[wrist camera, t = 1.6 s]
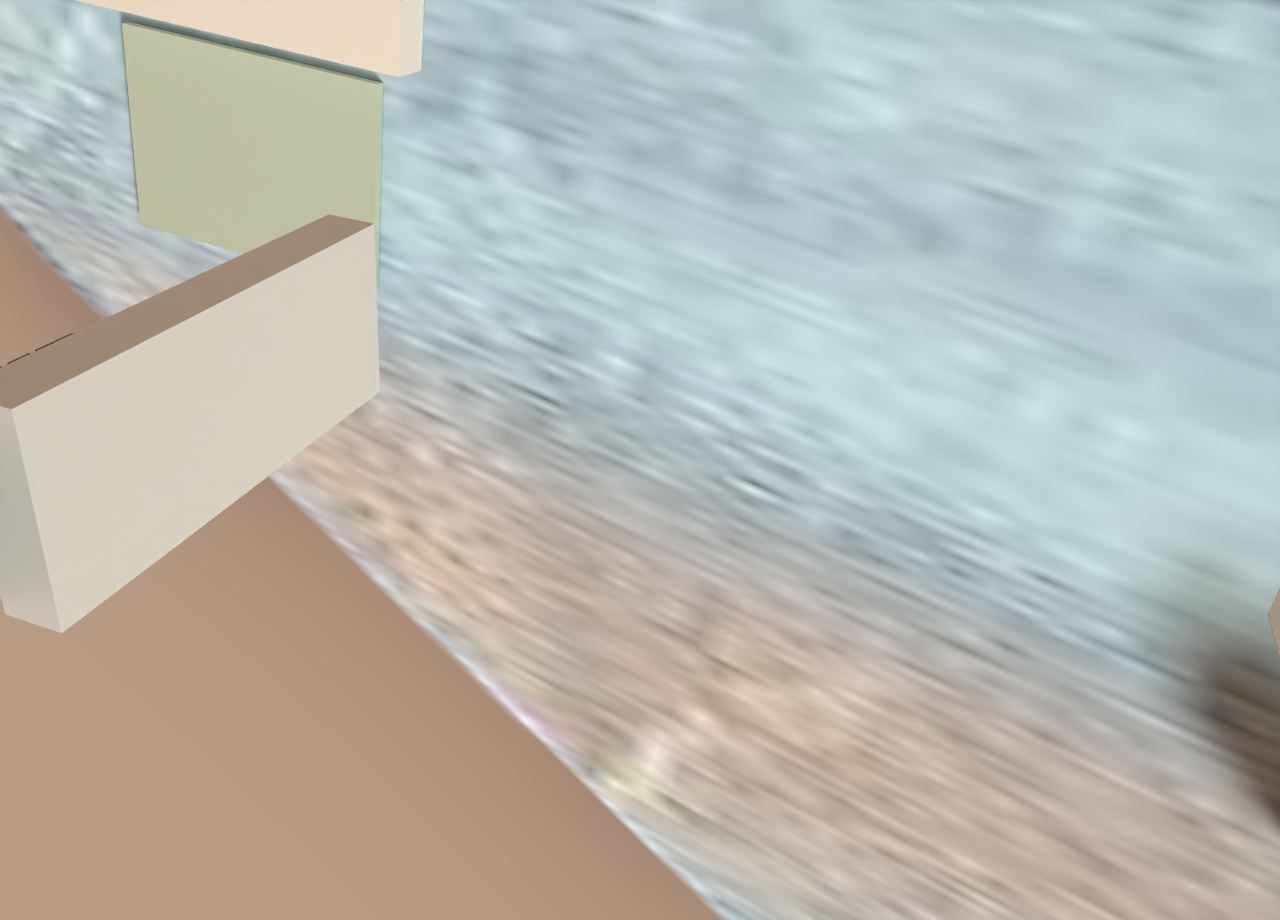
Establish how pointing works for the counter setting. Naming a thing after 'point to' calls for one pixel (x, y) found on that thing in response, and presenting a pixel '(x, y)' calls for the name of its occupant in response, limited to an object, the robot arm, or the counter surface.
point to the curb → (305, 27)
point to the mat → (248, 141)
